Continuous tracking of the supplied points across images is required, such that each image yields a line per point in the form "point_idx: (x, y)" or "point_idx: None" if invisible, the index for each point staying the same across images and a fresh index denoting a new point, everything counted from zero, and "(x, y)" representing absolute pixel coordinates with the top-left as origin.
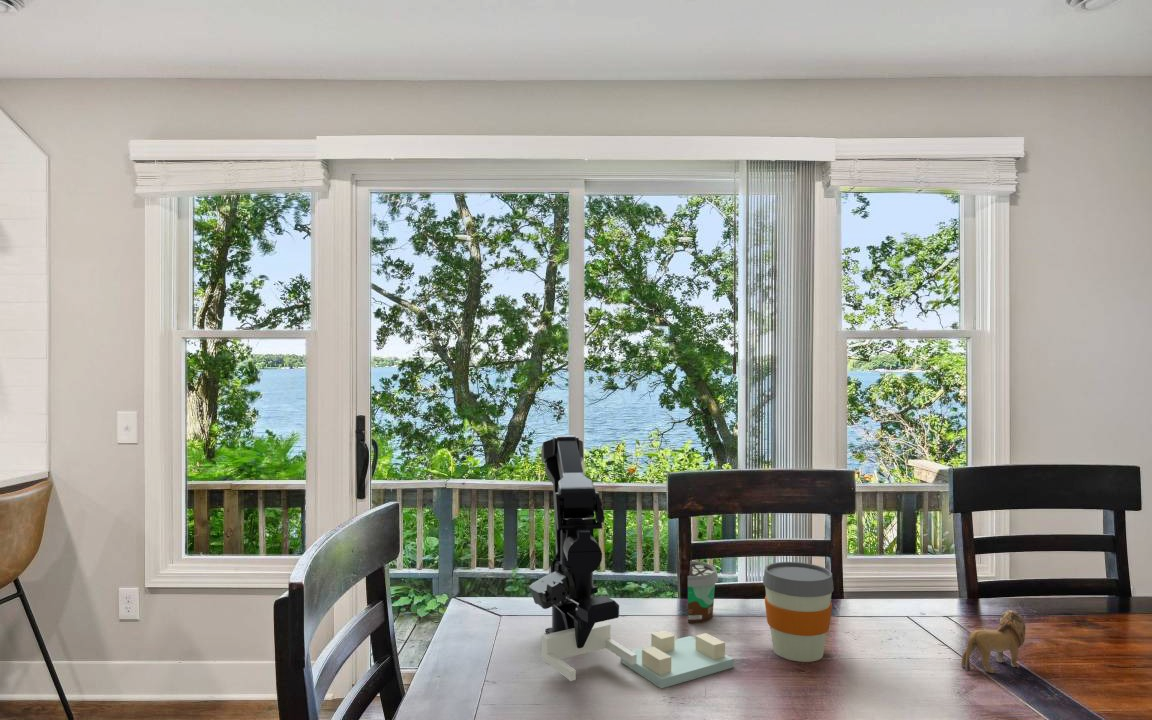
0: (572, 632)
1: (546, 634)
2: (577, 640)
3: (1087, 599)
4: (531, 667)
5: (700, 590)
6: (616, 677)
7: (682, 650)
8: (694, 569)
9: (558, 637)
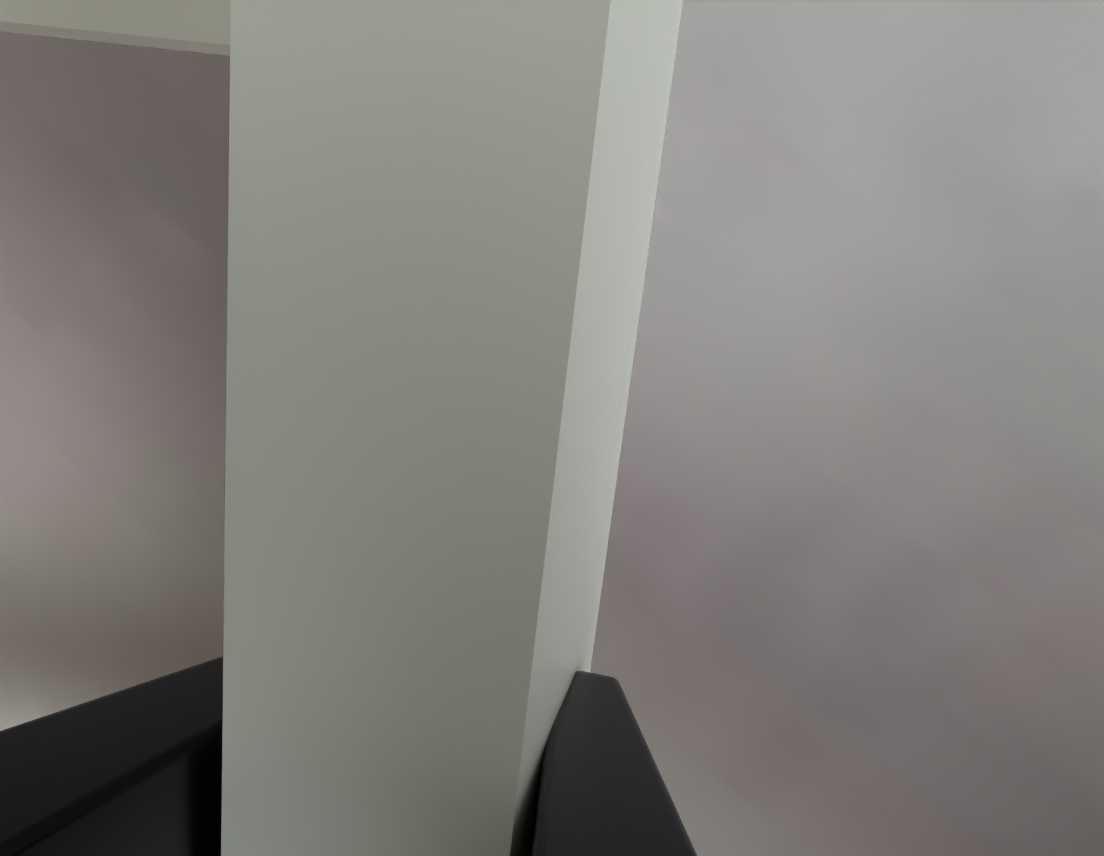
0: (275, 726)
1: (584, 33)
2: (218, 662)
3: None
4: (1006, 28)
5: None
6: (115, 690)
7: None
8: None
9: (249, 256)
